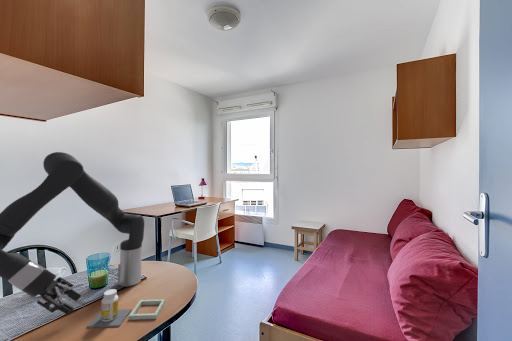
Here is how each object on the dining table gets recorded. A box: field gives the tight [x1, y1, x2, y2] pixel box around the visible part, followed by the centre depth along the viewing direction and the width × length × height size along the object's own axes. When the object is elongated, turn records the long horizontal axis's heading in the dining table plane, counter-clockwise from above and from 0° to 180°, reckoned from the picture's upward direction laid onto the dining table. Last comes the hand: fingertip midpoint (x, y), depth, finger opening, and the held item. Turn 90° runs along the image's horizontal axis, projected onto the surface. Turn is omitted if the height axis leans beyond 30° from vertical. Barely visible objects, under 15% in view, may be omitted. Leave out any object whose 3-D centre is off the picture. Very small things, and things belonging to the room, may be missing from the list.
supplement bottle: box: [100, 288, 119, 322], centre depth 83 cm, size 5×5×10 cm
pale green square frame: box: [128, 298, 166, 321], centre depth 88 cm, size 10×10×2 cm
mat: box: [86, 308, 132, 329], centre depth 83 cm, size 11×9×1 cm
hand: (75, 304), depth 79 cm, fingers open, 8 cm apart
